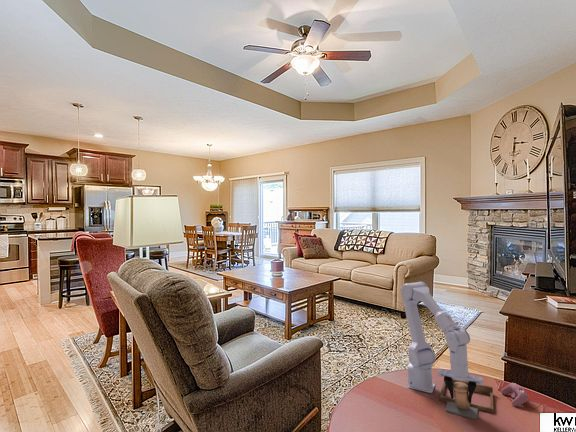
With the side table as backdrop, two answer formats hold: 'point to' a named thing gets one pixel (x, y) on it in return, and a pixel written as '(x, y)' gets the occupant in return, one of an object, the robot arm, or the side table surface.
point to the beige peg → (461, 395)
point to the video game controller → (515, 394)
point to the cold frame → (479, 388)
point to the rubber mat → (462, 410)
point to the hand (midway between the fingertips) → (461, 399)
